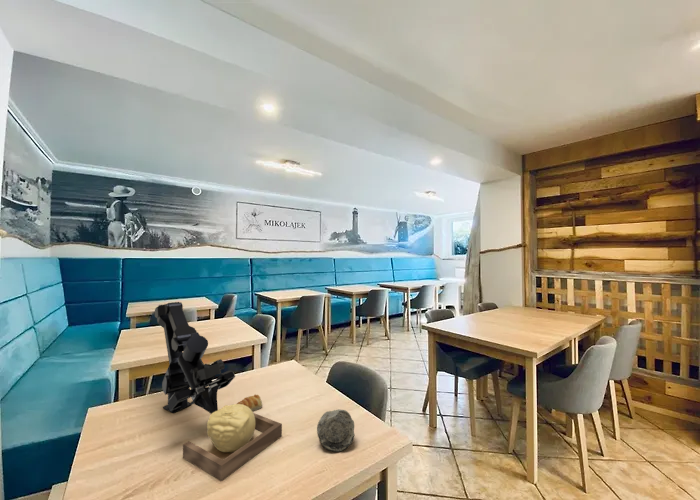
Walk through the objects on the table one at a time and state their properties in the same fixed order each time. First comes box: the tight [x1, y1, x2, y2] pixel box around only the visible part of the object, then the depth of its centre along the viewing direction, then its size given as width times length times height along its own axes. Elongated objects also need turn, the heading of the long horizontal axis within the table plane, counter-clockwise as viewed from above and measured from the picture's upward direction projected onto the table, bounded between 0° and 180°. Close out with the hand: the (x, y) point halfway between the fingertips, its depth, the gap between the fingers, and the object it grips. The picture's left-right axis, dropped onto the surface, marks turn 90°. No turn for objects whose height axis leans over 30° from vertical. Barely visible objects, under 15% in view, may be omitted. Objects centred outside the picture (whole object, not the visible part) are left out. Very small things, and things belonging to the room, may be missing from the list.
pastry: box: [236, 393, 263, 412], centre depth 102 cm, size 9×7×4 cm
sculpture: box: [206, 403, 256, 453], centre depth 83 cm, size 11×12×11 cm
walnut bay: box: [182, 412, 283, 482], centre depth 82 cm, size 16×20×4 cm
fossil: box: [316, 409, 355, 453], centre depth 85 cm, size 11×9×10 cm
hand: (216, 414), depth 86 cm, fingers closed
